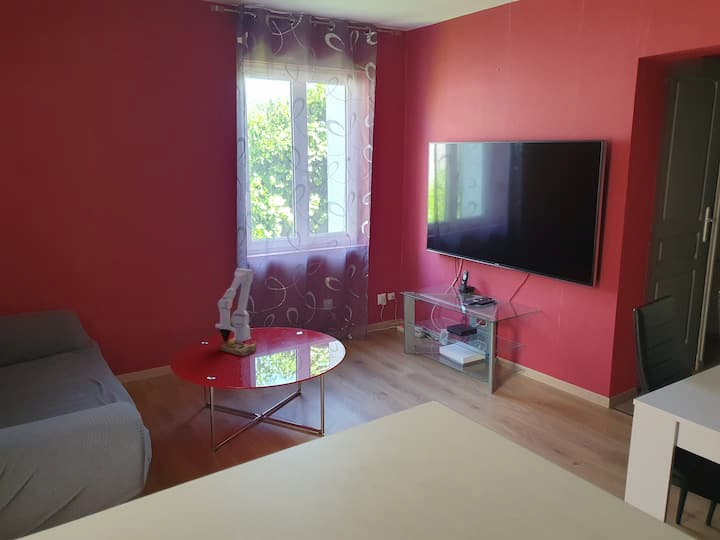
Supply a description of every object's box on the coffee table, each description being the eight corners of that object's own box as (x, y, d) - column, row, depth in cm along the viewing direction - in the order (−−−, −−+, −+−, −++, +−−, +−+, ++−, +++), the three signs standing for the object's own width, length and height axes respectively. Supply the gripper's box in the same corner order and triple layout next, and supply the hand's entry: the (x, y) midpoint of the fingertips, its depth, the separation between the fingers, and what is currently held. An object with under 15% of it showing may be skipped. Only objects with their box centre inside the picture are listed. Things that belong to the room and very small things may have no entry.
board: (233, 344, 336) (233, 337, 335) (256, 350, 327) (256, 343, 326) (220, 350, 327) (219, 342, 326) (243, 356, 318) (242, 348, 317)
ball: (231, 343, 331) (231, 337, 331) (236, 344, 330) (236, 338, 329) (227, 344, 328) (227, 339, 328) (231, 346, 327) (231, 340, 326)
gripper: (211, 318, 329) (211, 340, 332) (229, 322, 321) (229, 345, 324) (220, 315, 335) (220, 337, 338) (238, 319, 327) (238, 342, 330)
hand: (225, 341), depth 331 cm, fingers closed
